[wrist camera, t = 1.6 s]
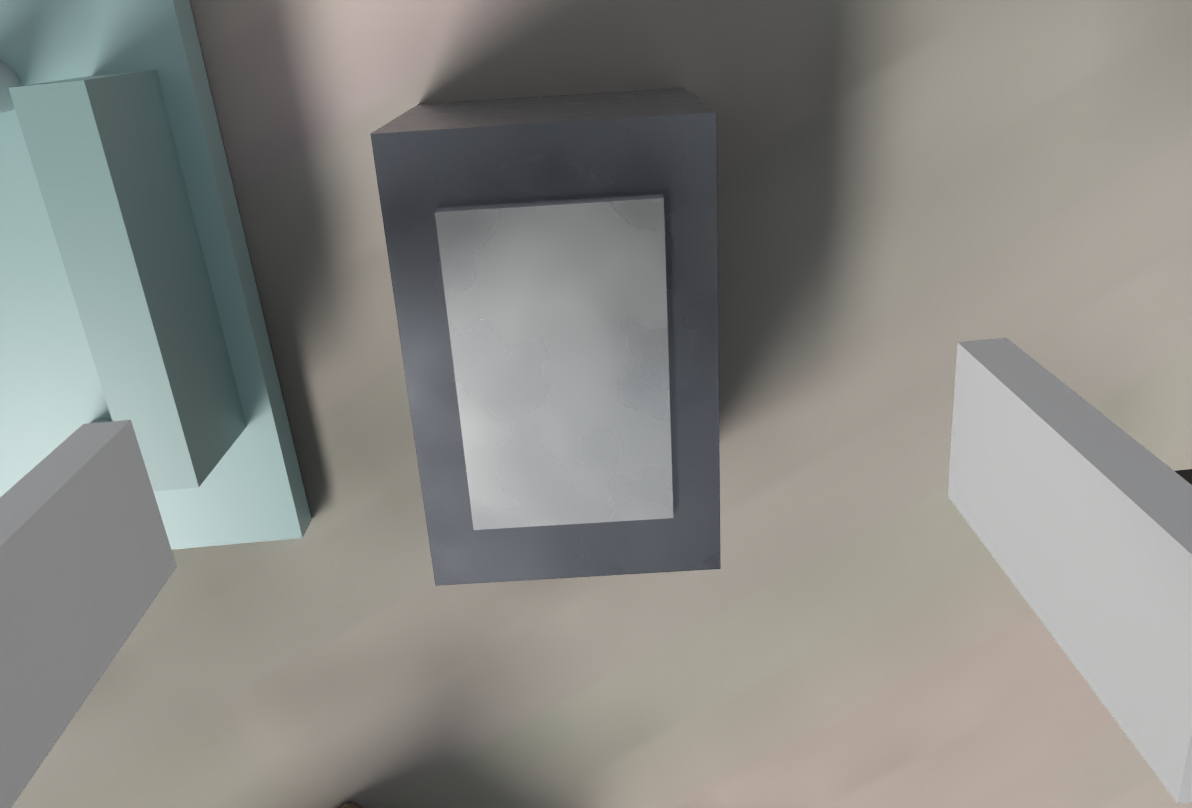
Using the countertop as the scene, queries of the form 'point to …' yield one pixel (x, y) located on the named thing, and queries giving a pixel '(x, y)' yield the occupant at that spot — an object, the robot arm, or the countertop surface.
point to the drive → (559, 330)
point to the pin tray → (134, 269)
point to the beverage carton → (350, 805)
